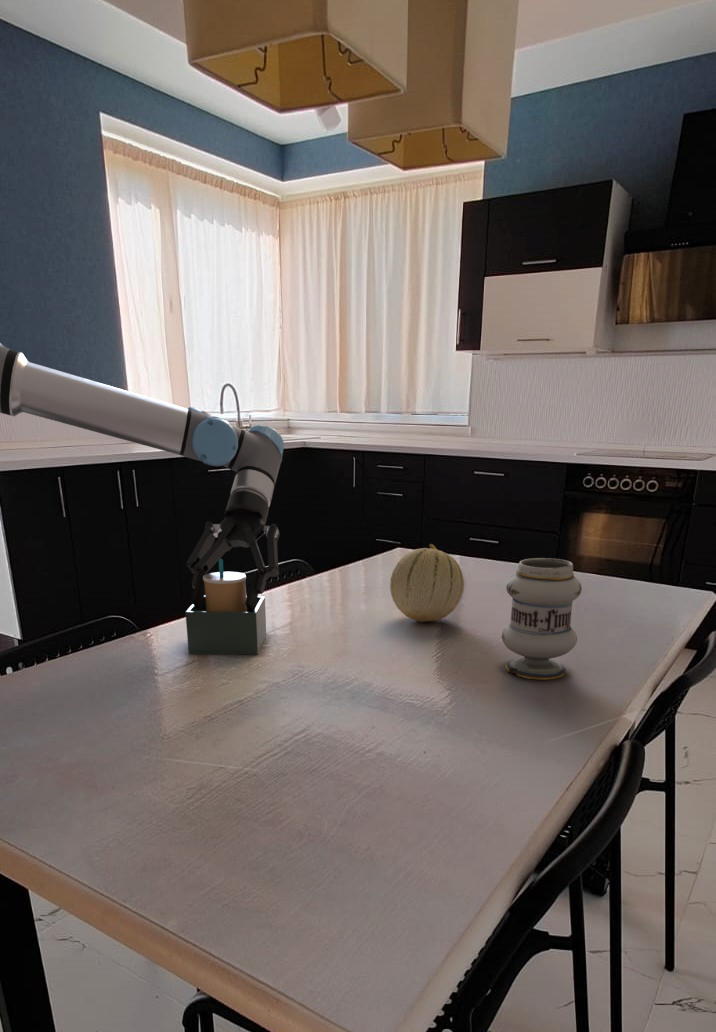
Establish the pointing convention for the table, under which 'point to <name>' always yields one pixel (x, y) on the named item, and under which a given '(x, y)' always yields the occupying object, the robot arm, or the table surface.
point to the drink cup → (225, 591)
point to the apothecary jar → (541, 617)
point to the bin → (226, 630)
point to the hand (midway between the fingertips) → (222, 606)
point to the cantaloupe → (427, 584)
